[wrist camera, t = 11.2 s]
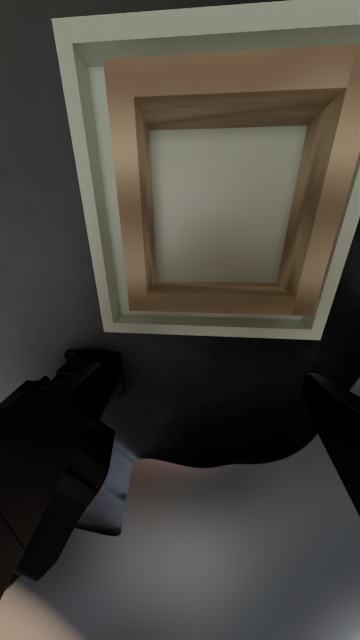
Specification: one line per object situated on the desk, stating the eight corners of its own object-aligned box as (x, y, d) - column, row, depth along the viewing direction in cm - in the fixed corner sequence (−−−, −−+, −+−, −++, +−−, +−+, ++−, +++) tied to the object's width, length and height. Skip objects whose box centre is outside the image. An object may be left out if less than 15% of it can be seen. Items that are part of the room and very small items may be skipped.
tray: (306, 327, 20) (320, 340, 18) (113, 321, 22) (104, 331, 20) (389, 34, 12) (432, -11, 10) (75, 53, 14) (51, 18, 11)
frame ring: (289, 299, 19) (312, 316, 15) (141, 296, 20) (129, 310, 16) (337, 94, 13) (391, 42, 10) (127, 103, 14) (102, 59, 10)
